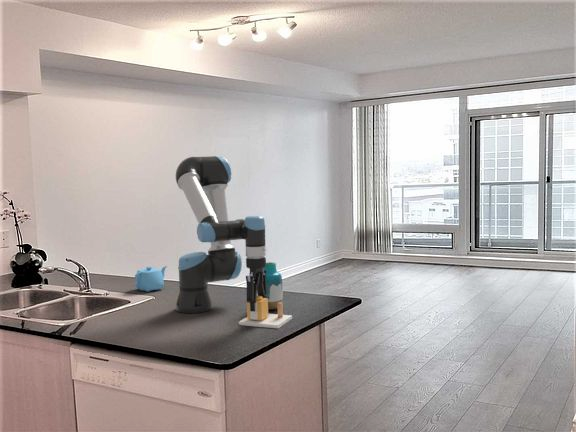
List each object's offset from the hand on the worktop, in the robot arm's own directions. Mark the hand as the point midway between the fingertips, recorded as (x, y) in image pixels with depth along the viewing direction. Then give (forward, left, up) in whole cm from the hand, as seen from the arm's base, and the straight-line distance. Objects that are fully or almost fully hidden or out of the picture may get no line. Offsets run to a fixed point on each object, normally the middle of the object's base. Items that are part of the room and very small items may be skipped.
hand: (257, 316), depth 214 cm
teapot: (-75, +38, -2) cm, 84 cm away
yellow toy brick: (0, 0, 0) cm, 0 cm away
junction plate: (+3, +1, -2) cm, 4 cm away
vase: (-3, +19, -2) cm, 19 cm away
